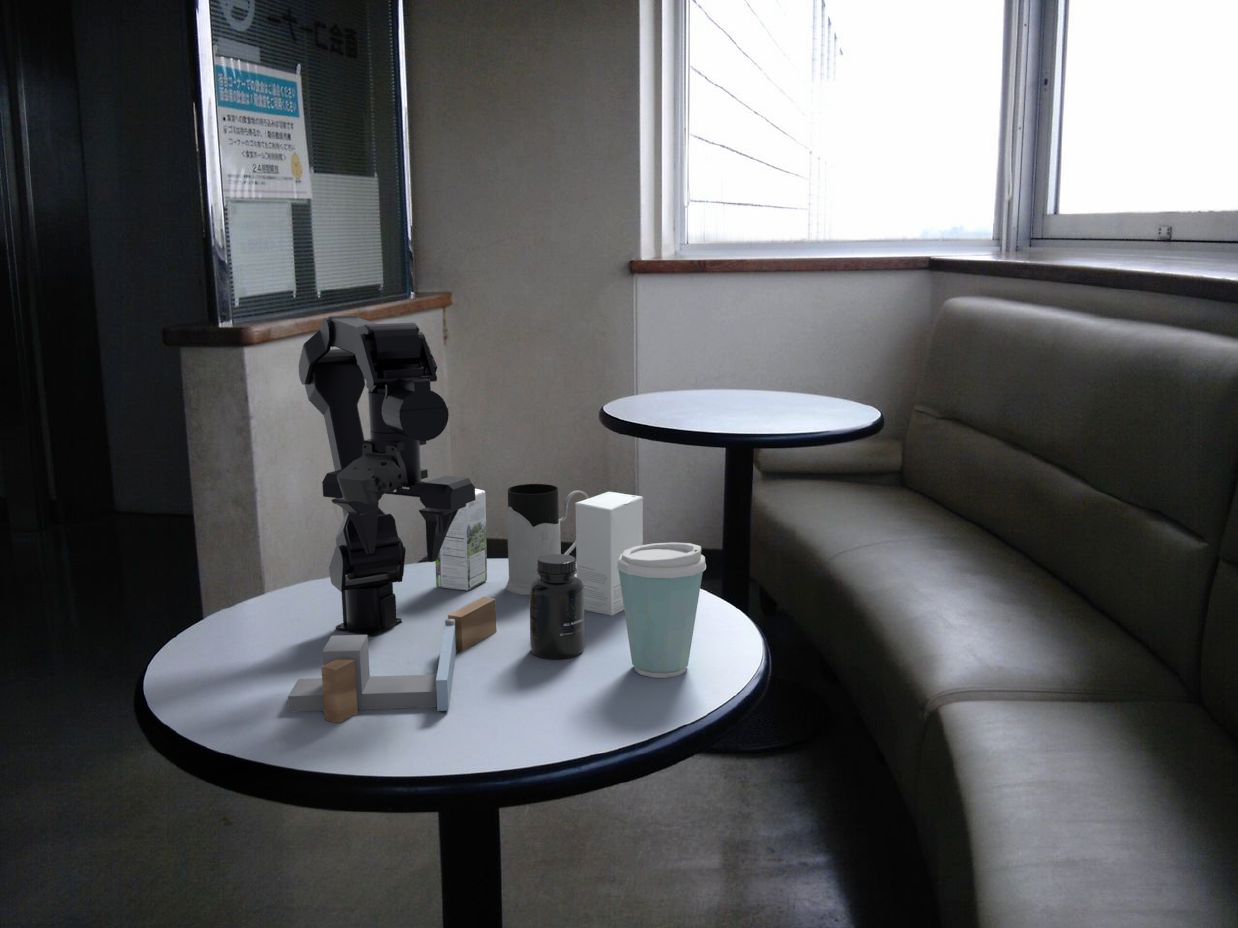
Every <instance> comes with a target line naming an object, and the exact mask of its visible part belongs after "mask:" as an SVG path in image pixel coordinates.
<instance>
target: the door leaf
mask: <svg viewBox="0 0 1238 928" xmlns="http://www.w3.org/2000/svg"><path fill="white" fill-rule="evenodd" d="M444 623H445V624H444V625H445V626H444V630H443V636H442V641H441V649H440V654H439V660H438V667H437V672H436V674H437V677H436V692H437V707H436V708H437V712H441V711H443V712H444V711H449V709H450V699H451V693H452V686H453V677H454V669H455V664H456V663H455V662H456V654H457V650H456V633H455V619H448V618H447V619H445V621H444Z"/></svg>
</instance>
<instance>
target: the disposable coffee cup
mask: <svg viewBox="0 0 1238 928" xmlns="http://www.w3.org/2000/svg"><path fill="white" fill-rule="evenodd" d="M617 569H618V570H619V577H620V584H621V591H622V598H623V604H624V610H623V611H624V616H625V625H626V630H627V638H628V645H629V652H630V658H631V664H632V665H633V666H634V671H635V672H637V673H638V675H641V676H645V677H648V678H657V679H662V678H663V679H667V678H668V679H669V678H674V677H679V676H680V675H682V674H684V673H686V670H687V669H686V668H687V667H688V666H689V661H690V654H691V649H692V648H691V647H692V643H693V636H694V630H695V625H696V624H695V622H696V616H697V610H698V604H699V597H700V592H701V584H702V579H703V573H704V571H705V570H706V569H707V564H706V556H704V555H703V554H702V546H701V545H698V544H694V543H691V542H675V541H674V542H672V541H671V542H658V543H656V542H655V543H649V544H643V545H640V546H635V547H632V548H630V549H627V550H624V552H623V553H622V554H620V556H619V559H618V565H617Z"/></svg>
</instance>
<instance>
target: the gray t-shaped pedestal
mask: <svg viewBox="0 0 1238 928" xmlns="http://www.w3.org/2000/svg"><path fill="white" fill-rule="evenodd" d="M368 638H369V636H368V635H361V634H350V635H349V634H347V635H341V634H340V635H331V636H330V638H329V639H328V641H327V643H326V645H324V647H323V650H322V652H321V654H322V666H324V665H326V664H328V663H330V662H332V661H334V660H336V659H338V658H345V659H350V660H355V675H356V692H357V709H358V710H373V709H375V710H376V709H377V710H380V709H382V710H383V709H408V708H409V709H410V708H437V692H436V677H437V673H436V674H408V675H407V674H405V675H403V674H402V675H379V676H378V675H377V676H372V675H371V674H370V672H371V671H370V655H369V653H370V652H369V641H368V640H369V639H368ZM287 702H288V703H287V704H288V712H290V713H291V712H312V711H313V712H315V711H316V712H318V711H324V702H323V686H322V677H314V678H313V677H312V678H311V677H310V678H306V677H305V678H298V679H297V680H296V682H295V684H294V686H293V687H292V688H291V690H290V692H289V693H288V695H287Z"/></svg>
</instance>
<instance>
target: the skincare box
mask: <svg viewBox="0 0 1238 928" xmlns="http://www.w3.org/2000/svg"><path fill="white" fill-rule="evenodd" d="M574 504H575V541H576V547H575V549H576V550H575V552H576V553H575V559H576V569H577V573H576V577H577V578H578V579H580V580H581V582H582V583H583V585H584V611H588V612H592V613H596V614H602V615H606V616H610V617H612V616H615V615H617V614H619V613H620V612H623V611H624V604H623V598H622V591H621V584H620V577H619V570H618V569H617V565H618V559H619V556H620V554H622V553H623V552H624V550H627V549H630V548H632V547H635V546H640V545H644V544H643V543H644V539H643V537H644V530H643V529H644V528H643V527H644V526H643V525H644V523H643V522H644V521H643V520H644V517H643V516H644V515H643V513H644V511H643V509H644V507H643V506H644V496H641V495H635V494H634V495H633V494H627V493H626V494H625V493H621V492H615V491H614V492H613V491H606V492H604V493H603V492H602V493H600V494H598V495H595V496H592V497H589V499H586V498H585V499H583V500H580V501H577V502H575V503H574Z"/></svg>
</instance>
